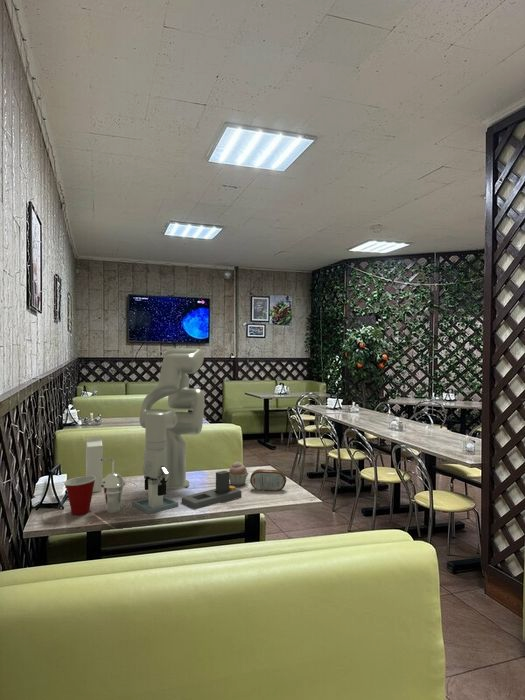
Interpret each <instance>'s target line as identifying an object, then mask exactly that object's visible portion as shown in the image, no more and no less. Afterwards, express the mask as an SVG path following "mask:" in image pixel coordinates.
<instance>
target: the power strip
mask: <svg viewBox="0 0 525 700" xmlns="http://www.w3.org/2000/svg"><path fill="white" fill-rule="evenodd" d="M236 487H237V486H233V485H229V492H227V493H223V494H218V493H216V488H213V489H208V490H204V491H200V492H197V493H194V494H193V493H192V494H190V495H185V496H181V504H184V505H186V506H188V507H190V508H192V509H194V510H196V509H200V508H203V507H208V506H211V505H214V504H217V503H220V504H222V503H225V501H226V502H229V501H232V499H233V500H236V499H240V498H242V490H241V489H237V488H236ZM235 498H236V499H235ZM228 500H229V501H228Z"/></svg>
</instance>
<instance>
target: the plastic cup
mask: <svg viewBox="0 0 525 700" xmlns="http://www.w3.org/2000/svg"><path fill="white" fill-rule="evenodd" d="M95 479H96V477H94V476H86V475H85V476H78V477H73V478H69V479H67V480H65V481H63V485H64V486H65V488H66V492H67V497H68V502H69V507H70V512H71V514H72V515H74V516H83V515H86V514H89V512H90V509H91V503H92V498H93V493H94V492H93V487H94V482H95Z"/></svg>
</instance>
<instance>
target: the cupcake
mask: <svg viewBox="0 0 525 700" xmlns="http://www.w3.org/2000/svg"><path fill="white" fill-rule="evenodd" d="M228 472H229V485H230V486H234V487H241V486H244V485H245V484H246V482H247V481H246V480H247V478H248V476H249V474H250V473H249V472H248V470H247V468H246V466H245V465H244V464H243V463H241V462H240V461H239V460H237V461H235V462H234V463H233V464H232V465H231V466H230V468H229V470H228Z"/></svg>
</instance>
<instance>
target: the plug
mask: <svg viewBox="0 0 525 700" xmlns="http://www.w3.org/2000/svg"><path fill="white" fill-rule="evenodd" d="M160 479H161V480H162V478H160ZM158 484H159V483H158V480H157V478H156V479H153V478H150V479H148V490H147V492H148V493H147V496H148V497H147V498H148V506H149V507H151V508H155V507H158V506H162V505H163V496H164V495H161V496H158Z"/></svg>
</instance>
